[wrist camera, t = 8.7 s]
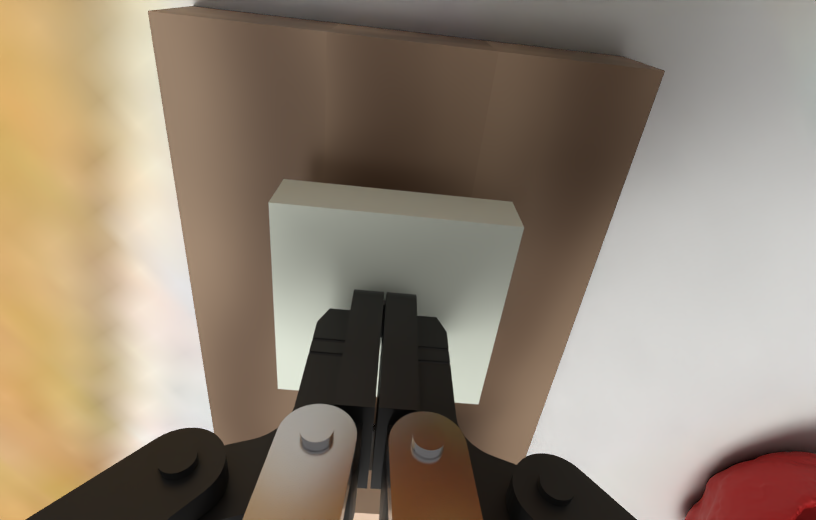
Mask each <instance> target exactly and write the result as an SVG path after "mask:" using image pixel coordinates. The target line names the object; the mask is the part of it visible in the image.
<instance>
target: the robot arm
mask: <svg viewBox="0 0 816 520" xmlns="http://www.w3.org/2000/svg"><path fill="white" fill-rule="evenodd" d="M383 299H384V292H379V291H368V290H356V289H354V292H353V298H352V303H351V309H350V310H343V309H331V308H330V309H329V310H328V311H327V312H326V313H325V314H324V315H323V316H322V317H321V318H320V319H319V320H318V321H317V324H316V328H315V331H314V335H313V341H312V343H311V346H310V350H309V354H308V357H307V361H306V365H305V369H304V372H303V376H302V380H301V384H300V387H299V391H298V395H297V398H296V402H295V406H294V408H293V411H292V412H291V413H290V414H289V415H288V416H287V417H285V418H284V420H283V421H282V422H281V424H280V425H279V427H278V428H277V429H275V430H274V431H272V432H270V433H268V434H266V435H264V436H261V437H259V438H255V439H251V440H246V441H242V442H237V443H232V444H227V445H224V444H223V442H222V440H221V439H220V438H219V437H218V436H217V435H216V434H214V433H212V432H210V431H208V430H205V429H201V428H184V429H178V430H175V431H171V432H169V433H166V434H164V435H162V436H160V437H158V438H157V439H155V440H153V441H152V442H150V443H148V444H147V445H145V446H144V447H142V448H140V449H139V450H137V451H136V452H134V453H132V454H131V455H129V456H127V457H126V458H124V459H123V460H121V461H119V462H118V463H116V464H115V465H113V466H111V467H110V468H108V469H106V470H105V471H103V472H102V473H100V474H98V475H97V476H95V477H94V478H92V479H90V480H89V481H87V482H86V483H84V484H82V485H81V486H79V487H77V488H76V489H74V490H73V491H71V492H69V493H68V494H66V495H65V496H63V497H61V498H60V499H58V500H56V501H55V502H53V503H52V504H50V505H48V506H47V507H45V508H44V509H42V510H40V511H39V512H37V513H36V514H34V515H32V516H31V517H29V518H27V519H26V520H353V518H354V514H355V505H356V495H357V488H365V489H367V484H368V474H369V464H370V454H371V443H372V433H373V423H374V413H375V402H376V389H377V376H378V363H379V350H380V337H381V324H382V312H383ZM448 349H449V347H448V338H447V332H446V330H445V329H444V327H443V326H442V324H441V323H440V321H439V320H438V319H437V317H428V316H417V296H416V295H415V294H404V293H392V292H387V293H386V302H385V312H384V322H383V332H382V342H381V353H380V365H379V379H378V392H377V406H376V419H375V432H374V446H373V459H372V473H371V486H370V489H381V493H380V512H379V520H637V519H635V518H634V517H633V516H632V515H631V514H630V513H629V512H627V511H626V510H625V509H624V508H623V507H622V506H621V505H619V504H618V503H617V502H616V501H615V500H614V499H613V498H611V497H610V496H609V495H608V494H607V493H606V492H605V491H603V490H602V489H601V488H600V487H599V486H598V485H597V484H596V483H594V482H593V481H592V480H591V479H590V478H589V477H588V476H586V475H585V474H584V473H583V472H582V471H581V470H580V469H578V468H577V467H576V466H575V465H573V464H572V463H570V462H568V461H567V460H565V459H563V458H560V457H558V456H554V455H550V454H532V455H530V456H527V457H525V458H523V459H522V460H521V461H520V462H519V463H518V464H517V465H516V464H513V463H511V462H508V461H505V460H502V459H500V458H497V457H494V456H492V455H489V454H487V453H485V452H483V451H481V450H480V449H478V448H477V447H476V446H474V445H473V444H472V443H471V442H470V441H469V440H468V439H467V438H466V437H465V436H464V434H463V433H462V431H461V430H460V428H459V425H458V423H457V418H456V410H455V401H454V392H453V383H452V374H451V365H450V356H449V352H448Z"/></svg>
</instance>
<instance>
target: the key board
mask: <svg viewBox="0 0 816 520" xmlns="http://www.w3.org/2000/svg"><path fill="white" fill-rule="evenodd" d="M148 15H149V22H150V28H151V34H152V41H153V47H154V53H155V60H156V66H157V72H158V79H159V85H160V92H161V98H162V104H163V111H164V117H165V123H166V130H167V136H168V142H169V149H170V155H171V161H172V168H173V174H174V180H175V187H176V193H177V200H178V206H179V212H180V219H181V225H182V231H183V238H184V244H185V250H186V257H187V263H188V269H189V276H190V282H191V288H192V295H193V301H194V308H195V314H196V320H197V327H198V333H199V339H200V346H201V352H202V358H203V365H204V371H205V377H206V384H207V390H208V396H209V403H210V409H211V416H212V422H213V428H214V434H216V435H217V436H218V437H219V438H220V439H221V440H222V442H223V444H224V445H227V444H232V443H237V442H242V441H246V440H251V439H255V438H259V437H261V436H264V435H266V434H268V433H270V432H272V431H274V430H275V429H277V428H278V427H279V425H280V424H281V422H282V421H283V420H284V418H285V417H287V416H288V415H289V414H290V413H291V412H292V411H293V408H294V406H295V402H296V398H297V395H298V391H299V390H286V389H278V382H277V362H276V342H275V323H274V303H273V283H272V263H271V244H270V224H269V204H268V202H269V201H270V199H271V198H272V196H273V194H274V193H275V191H276V190H277V188H278V187H279V185H280V184H281V182H282V181H283V179H289V180H299V181H310V182H320V183H330V184H340V185H350V186H360V187H370V188H380V189H390V190H400V191H410V192H420V193H430V194H440V195H450V196H460V197H470V198H480V199H490V200H500V201H510V202H513V204H514V206H515V209H516V211H517V213H518V215H519V217H520V219H521V221H522V224H523V226H524V230H523V234H522V238H521V242H520V246H519V249H518V253H517V257H516V261H515V265H514V269H513V273H512V276H511V280H510V284H509V288H508V292H507V296H506V300H505V304H504V307H503V311H502V315H501V319H500V323H499V327H498V331H497V334H496V338H495V342H494V346H493V350H492V354H491V358H490V362H489V365H488V369H487V373H486V377H485V381H484V385H483V389H482V392H481V396H480V400H479V404H467V403H455V410H456V418H457V423H458V425H459V428H460V430H461V431H462V433H463V434H464V436H465V437H466V438H467V439H468V440H469V441H470V442H471V443H472V444H473V445H474V446H476V447H477V448H478V449H480V450H481V451H483V452H485V453H487V454H489V455H492V456H494V457H497V458H500V459H502V460H505V461H508V462H511V463H513V464H516V465H517V464H518V463H519V462H520V461H521V460H522V459H523V458H525V457H526V454H527V451H528V449H529V446H530V443H531V440H532V438H533V435H534V432H535V429H536V426H537V424H538V421H539V418H540V415H541V413H542V410H543V407H544V404H545V402H546V399H547V396H548V393H549V390H550V388H551V385H552V382H553V379H554V377H555V374H556V371H557V368H558V365H559V363H560V360H561V357H562V354H563V352H564V349H565V346H566V343H567V341H568V338H569V335H570V332H571V329H572V327H573V324H574V321H575V318H576V316H577V313H578V310H579V307H580V305H581V302H582V299H583V296H584V293H585V291H586V288H587V285H588V282H589V280H590V277H591V274H592V271H593V269H594V266H595V263H596V260H597V257H598V255H599V252H600V249H601V246H602V244H603V241H604V238H605V235H606V233H607V230H608V227H609V224H610V221H611V219H612V216H613V213H614V210H615V208H616V205H617V202H618V199H619V196H620V194H621V191H622V188H623V185H624V183H625V180H626V177H627V174H628V172H629V169H630V166H631V163H632V160H633V158H634V155H635V152H636V149H637V147H638V144H639V141H640V138H641V136H642V133H643V130H644V127H645V124H646V122H647V119H648V116H649V113H650V111H651V108H652V105H653V102H654V100H655V97H656V94H657V91H658V88H659V86H660V83H661V80H662V77H663V75H664V72H665V71H664V70H661V69H658V68H655V67H652V66H649V65H646V64H643V63H640V62H638V61H635V60H632V59H629V58H626V57H622V56H614V55H605V54H597V53H588V52H580V51H571V50H563V49H554V48H545V47H537V46H528V45H520V44H511V43H503V42H494V41H486V40H477V39H469V38H460V37H451V36H443V35H434V34H426V33H417V32H409V31H400V30H392V29H383V28H375V27H366V26H357V25H349V24H340V23H332V22H323V21H315V20H306V19H298V18H289V17H281V16H272V15H263V14H255V13H246V12H238V11H229V10H221V9H212V8H204V7H195V6H189V7H180V8H171V9H162V10H152V11H148ZM376 406H377V397H376V402H375V413H374V423H373V424H375V419H376Z"/></svg>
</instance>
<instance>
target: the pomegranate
mask: <svg viewBox="0 0 816 520" xmlns="http://www.w3.org/2000/svg"><path fill="white" fill-rule="evenodd" d="M685 520H816V454H814V453H809V452H799V451H796V452H778V453H770V454H766V455H763V456H759V457H758V458H756V459H754V460H750V461H745V462H742V463H738V464H735V465H733V466H731V467H729V468H727V469H726V470H723V471H721V472H719V473H717V474H715V475H714V476H713V477H711V478H710V479H709V480H708V482H707V484H706V489H705V491H704V494H703V496H702V498H701V499H700V500H699V501H698V502H697V503H696V504H694V505H693V506H692V508H691V509H690V510H689V512H688V513H687V515H686V518H685Z"/></svg>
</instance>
